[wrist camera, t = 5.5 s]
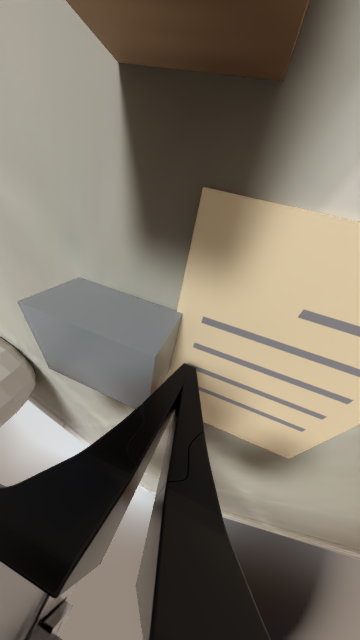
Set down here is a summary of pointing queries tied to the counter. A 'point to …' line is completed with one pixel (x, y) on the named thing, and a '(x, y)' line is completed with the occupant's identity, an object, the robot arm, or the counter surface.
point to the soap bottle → (13, 380)
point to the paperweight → (104, 338)
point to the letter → (272, 321)
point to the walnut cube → (199, 33)
